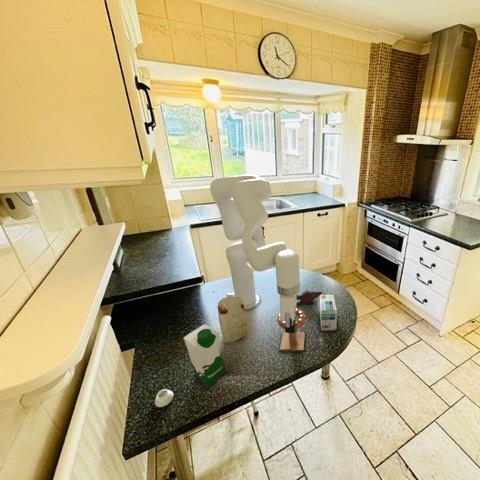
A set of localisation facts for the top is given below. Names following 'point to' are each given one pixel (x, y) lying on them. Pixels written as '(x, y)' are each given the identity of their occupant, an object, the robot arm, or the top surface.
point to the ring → (296, 324)
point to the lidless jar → (163, 397)
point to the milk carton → (205, 354)
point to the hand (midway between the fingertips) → (290, 328)
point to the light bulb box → (328, 312)
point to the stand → (292, 341)
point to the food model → (232, 318)
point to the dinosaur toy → (307, 297)
